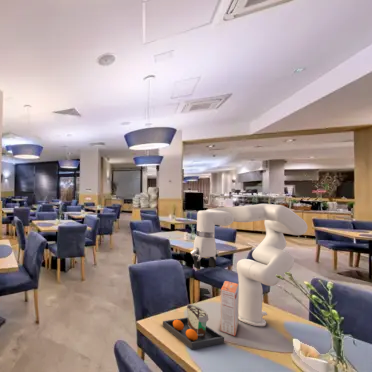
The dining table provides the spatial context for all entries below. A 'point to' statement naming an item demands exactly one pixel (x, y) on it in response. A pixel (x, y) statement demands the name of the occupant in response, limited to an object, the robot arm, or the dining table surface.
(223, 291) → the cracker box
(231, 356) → the dining table surface
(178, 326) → the clementine
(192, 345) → the fruit tray
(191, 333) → the clementine
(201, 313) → the food container
